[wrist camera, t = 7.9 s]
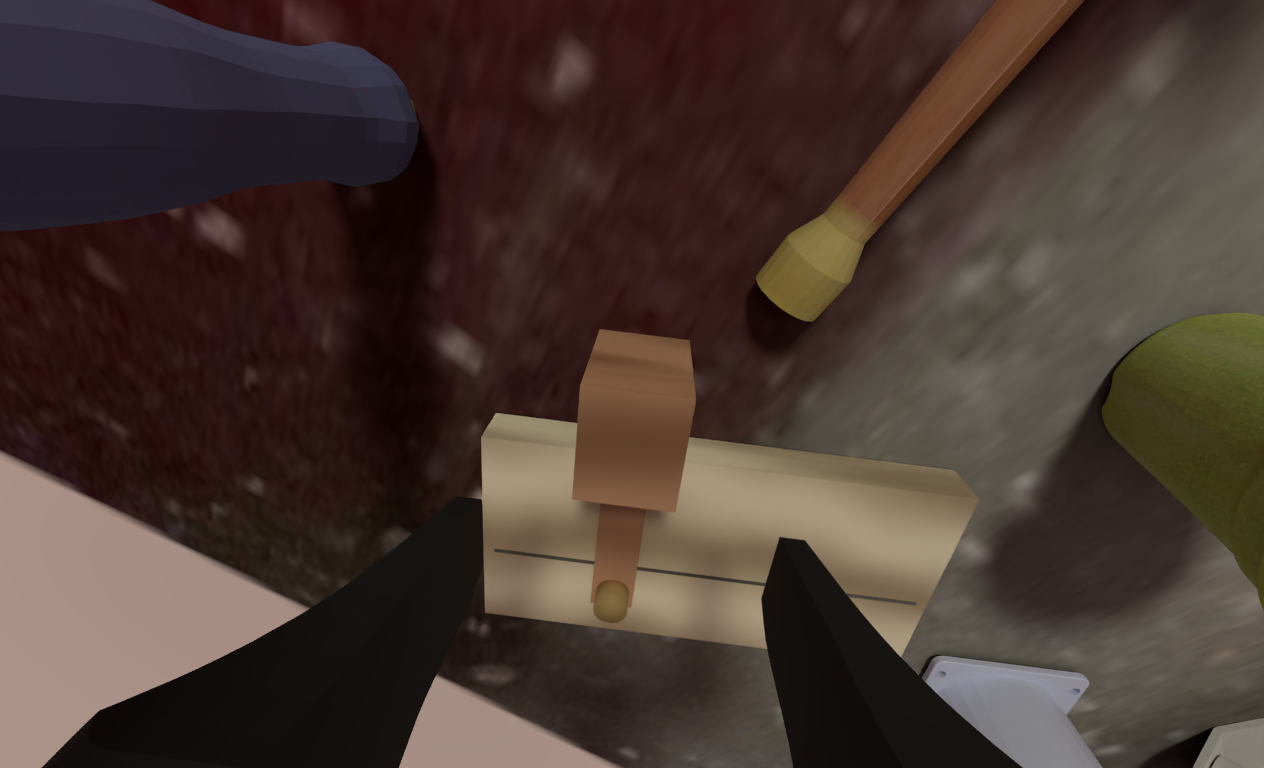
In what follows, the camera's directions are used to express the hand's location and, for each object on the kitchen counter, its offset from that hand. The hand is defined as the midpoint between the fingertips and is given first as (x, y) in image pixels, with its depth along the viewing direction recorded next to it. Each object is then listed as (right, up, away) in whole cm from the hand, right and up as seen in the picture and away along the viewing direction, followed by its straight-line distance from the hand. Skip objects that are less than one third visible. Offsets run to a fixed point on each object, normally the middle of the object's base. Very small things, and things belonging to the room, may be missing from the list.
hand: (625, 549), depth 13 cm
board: (+4, -3, +12) cm, 13 cm away
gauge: (0, +1, +11) cm, 11 cm away
